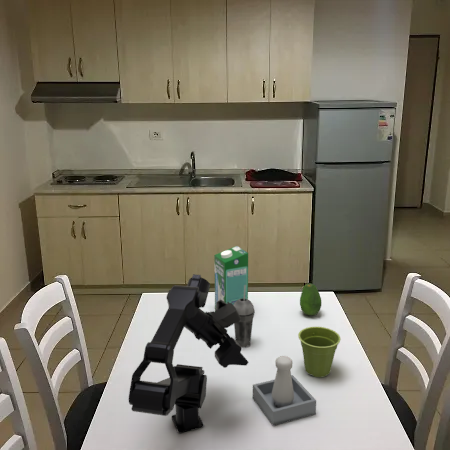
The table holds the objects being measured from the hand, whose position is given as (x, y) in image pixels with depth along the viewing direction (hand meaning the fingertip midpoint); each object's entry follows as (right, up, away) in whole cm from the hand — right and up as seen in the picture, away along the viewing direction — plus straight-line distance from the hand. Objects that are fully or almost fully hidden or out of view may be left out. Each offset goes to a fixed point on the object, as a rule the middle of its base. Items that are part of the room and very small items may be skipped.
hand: (240, 354), depth 123 cm
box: (+11, -14, +1) cm, 18 cm away
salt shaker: (+11, -13, +1) cm, 17 cm away
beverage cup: (+2, -5, +32) cm, 33 cm away
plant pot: (+23, -10, +17) cm, 30 cm away
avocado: (+27, 0, +52) cm, 58 cm away
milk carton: (-2, 0, +51) cm, 51 cm away
